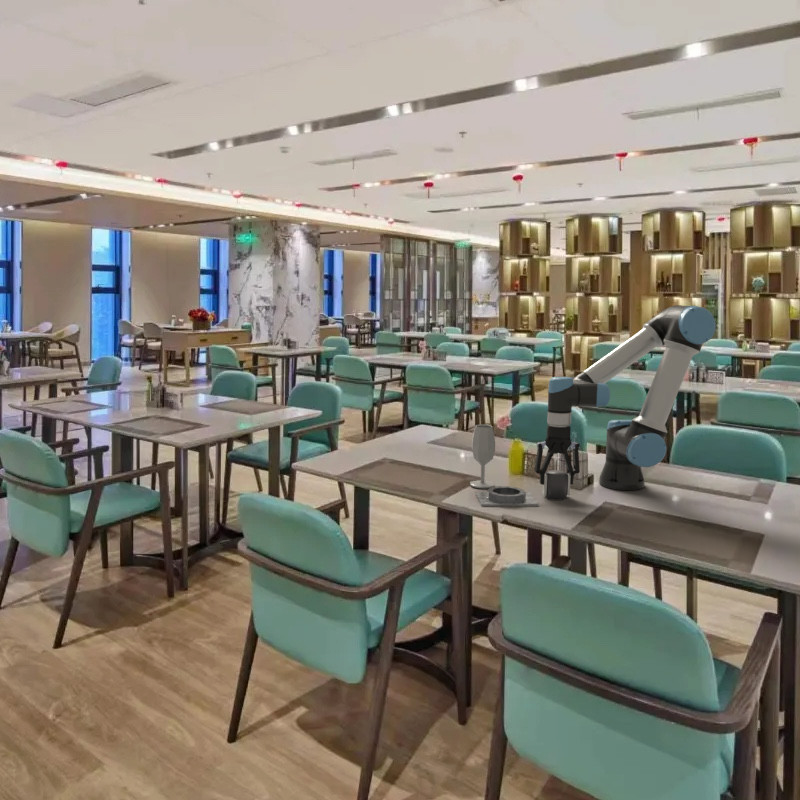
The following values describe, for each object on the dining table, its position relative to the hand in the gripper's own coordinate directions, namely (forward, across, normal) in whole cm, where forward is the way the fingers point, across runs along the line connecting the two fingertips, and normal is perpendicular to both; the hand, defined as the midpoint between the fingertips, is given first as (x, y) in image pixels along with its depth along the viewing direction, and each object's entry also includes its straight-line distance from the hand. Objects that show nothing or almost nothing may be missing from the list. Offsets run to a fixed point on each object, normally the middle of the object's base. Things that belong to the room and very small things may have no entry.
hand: (555, 493), depth 241 cm
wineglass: (+1, +22, -14) cm, 26 cm away
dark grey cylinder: (+1, 0, 0) cm, 1 cm away
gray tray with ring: (+1, +17, +4) cm, 17 cm away
